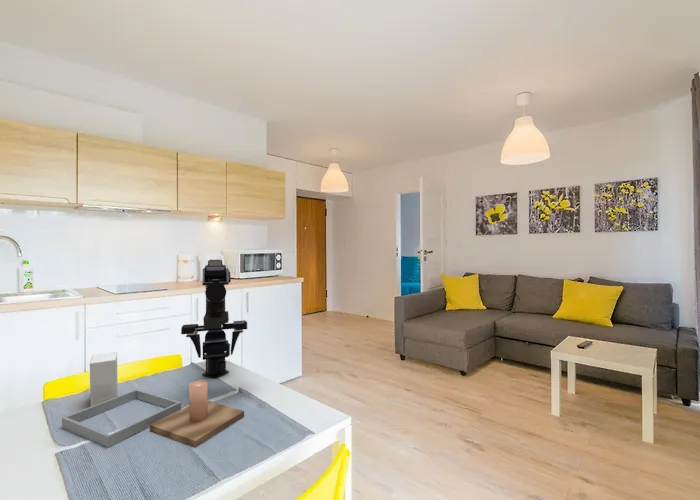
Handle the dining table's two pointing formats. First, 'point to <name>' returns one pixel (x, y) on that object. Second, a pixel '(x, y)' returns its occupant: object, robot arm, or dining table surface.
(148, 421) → the tray
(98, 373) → the small box
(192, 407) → the copper brown cylinder
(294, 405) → the dining table surface
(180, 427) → the board
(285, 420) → the dining table surface
